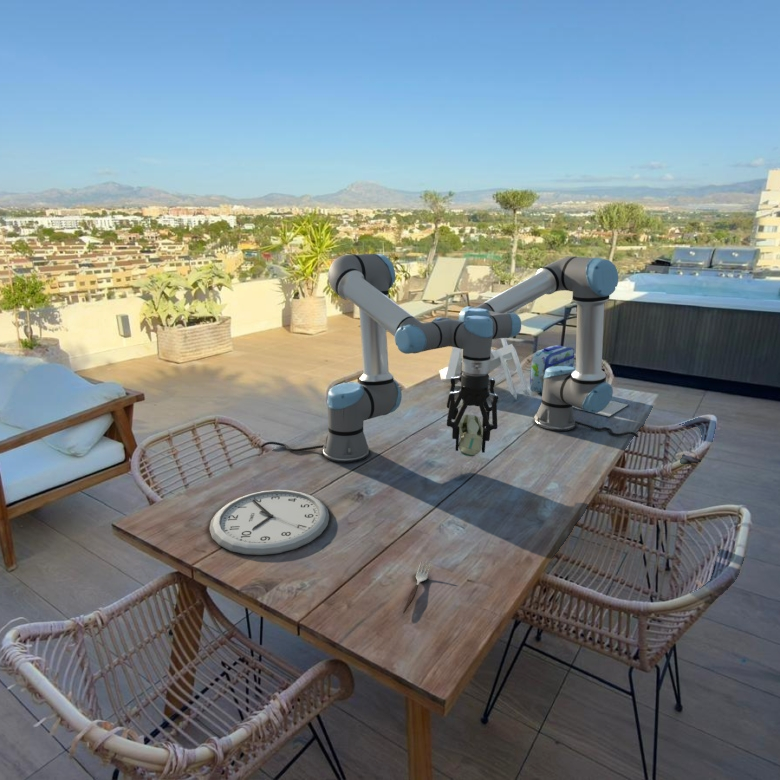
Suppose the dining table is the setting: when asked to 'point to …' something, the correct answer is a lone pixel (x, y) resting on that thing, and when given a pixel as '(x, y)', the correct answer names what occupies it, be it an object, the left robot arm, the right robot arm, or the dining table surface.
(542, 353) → the lunch box
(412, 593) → the fork
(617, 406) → the invitation card
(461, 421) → the ballet flat
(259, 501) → the wall clock
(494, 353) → the white plastic object
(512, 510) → the dining table surface
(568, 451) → the dining table surface
